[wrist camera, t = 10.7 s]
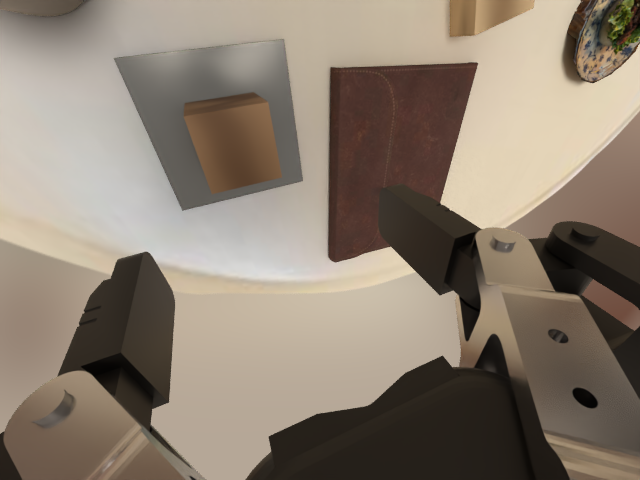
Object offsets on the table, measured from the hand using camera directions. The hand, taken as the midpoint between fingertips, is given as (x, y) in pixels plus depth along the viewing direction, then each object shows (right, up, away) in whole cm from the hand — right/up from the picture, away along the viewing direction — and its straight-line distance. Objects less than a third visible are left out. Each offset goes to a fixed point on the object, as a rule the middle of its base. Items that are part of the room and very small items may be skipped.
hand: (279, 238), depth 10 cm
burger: (+33, +24, +21) cm, 46 cm away
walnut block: (-6, +8, +12) cm, 16 cm away
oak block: (+15, +21, +14) cm, 30 cm away
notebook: (+9, +8, +21) cm, 24 cm away
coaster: (-6, +9, +12) cm, 16 cm away
